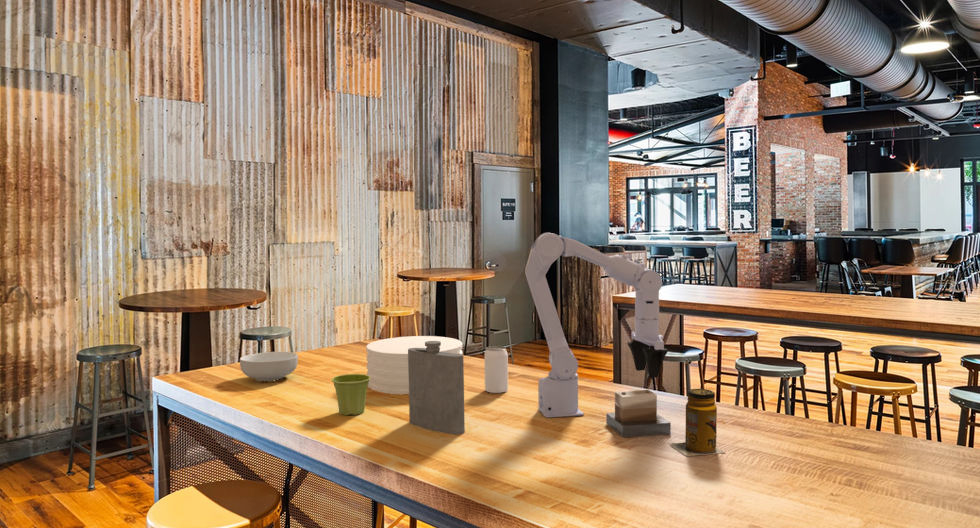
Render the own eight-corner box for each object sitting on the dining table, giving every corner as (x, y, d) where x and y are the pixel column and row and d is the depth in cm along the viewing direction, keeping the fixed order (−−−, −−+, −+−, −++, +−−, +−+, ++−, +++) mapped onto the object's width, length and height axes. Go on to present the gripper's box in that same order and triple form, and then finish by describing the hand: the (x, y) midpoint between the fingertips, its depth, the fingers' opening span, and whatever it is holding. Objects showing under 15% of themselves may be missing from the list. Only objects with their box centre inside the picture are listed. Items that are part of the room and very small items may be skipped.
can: (505, 394, 179) (505, 350, 178) (482, 393, 180) (482, 350, 179) (510, 388, 185) (509, 346, 184) (487, 387, 186) (486, 345, 186)
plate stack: (481, 384, 190) (480, 345, 190) (393, 400, 175) (392, 358, 174) (433, 367, 213) (433, 332, 213) (352, 380, 198) (351, 342, 197)
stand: (623, 437, 142) (622, 426, 142) (606, 423, 152) (606, 413, 151) (670, 433, 144) (670, 422, 144) (651, 420, 154) (651, 410, 153)
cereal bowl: (310, 376, 203) (309, 353, 202) (265, 388, 189) (265, 364, 188) (273, 370, 212) (272, 348, 212) (228, 381, 198) (227, 358, 198)
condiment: (725, 453, 132) (725, 394, 131) (686, 457, 130) (687, 397, 129) (705, 441, 139) (705, 385, 138) (668, 445, 137) (669, 388, 136)
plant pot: (353, 405, 170) (352, 372, 170) (379, 410, 165) (378, 376, 164) (324, 413, 163) (323, 379, 162) (351, 420, 157) (350, 384, 157)
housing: (656, 419, 146) (656, 393, 146) (622, 422, 144) (622, 395, 144) (648, 413, 150) (648, 387, 150) (614, 416, 149) (614, 390, 149)
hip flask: (467, 431, 147) (466, 343, 146) (455, 436, 144) (454, 346, 143) (416, 419, 157) (414, 336, 156) (404, 423, 154) (402, 339, 152)
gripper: (676, 322, 153) (675, 379, 154) (649, 313, 167) (649, 366, 168) (647, 323, 152) (647, 381, 153) (623, 314, 166) (623, 367, 167)
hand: (646, 373), depth 160 cm, fingers open, 7 cm apart
